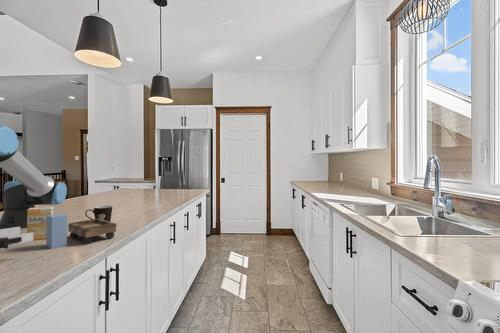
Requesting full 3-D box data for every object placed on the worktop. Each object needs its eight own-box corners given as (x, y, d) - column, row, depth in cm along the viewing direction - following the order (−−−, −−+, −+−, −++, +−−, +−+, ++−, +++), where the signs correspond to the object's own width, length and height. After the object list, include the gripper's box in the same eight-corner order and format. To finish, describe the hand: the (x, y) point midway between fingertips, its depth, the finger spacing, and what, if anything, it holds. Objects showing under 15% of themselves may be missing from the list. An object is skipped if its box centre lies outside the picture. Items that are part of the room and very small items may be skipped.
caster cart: (68, 238, 110) (68, 223, 110) (97, 232, 120) (97, 218, 120) (85, 245, 101) (86, 228, 101) (115, 238, 111) (116, 223, 111)
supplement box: (26, 241, 105) (26, 209, 105) (29, 238, 109) (30, 207, 109) (51, 238, 109) (51, 208, 109) (53, 235, 113) (54, 206, 113)
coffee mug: (115, 224, 136) (116, 205, 136) (105, 228, 128) (105, 208, 127) (95, 223, 137) (95, 204, 137) (83, 227, 129) (83, 207, 129)
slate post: (46, 246, 99) (46, 215, 99) (61, 243, 103) (61, 213, 103) (51, 248, 96) (51, 217, 96) (66, 245, 100) (67, 215, 100)
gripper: (-74, 252, 81) (15, 237, 99) (-62, 272, 67) (38, 250, 85) (-73, 229, 81) (15, 218, 99) (-61, 244, 67) (39, 228, 85)
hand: (26, 233), depth 92 cm, fingers open, 13 cm apart
